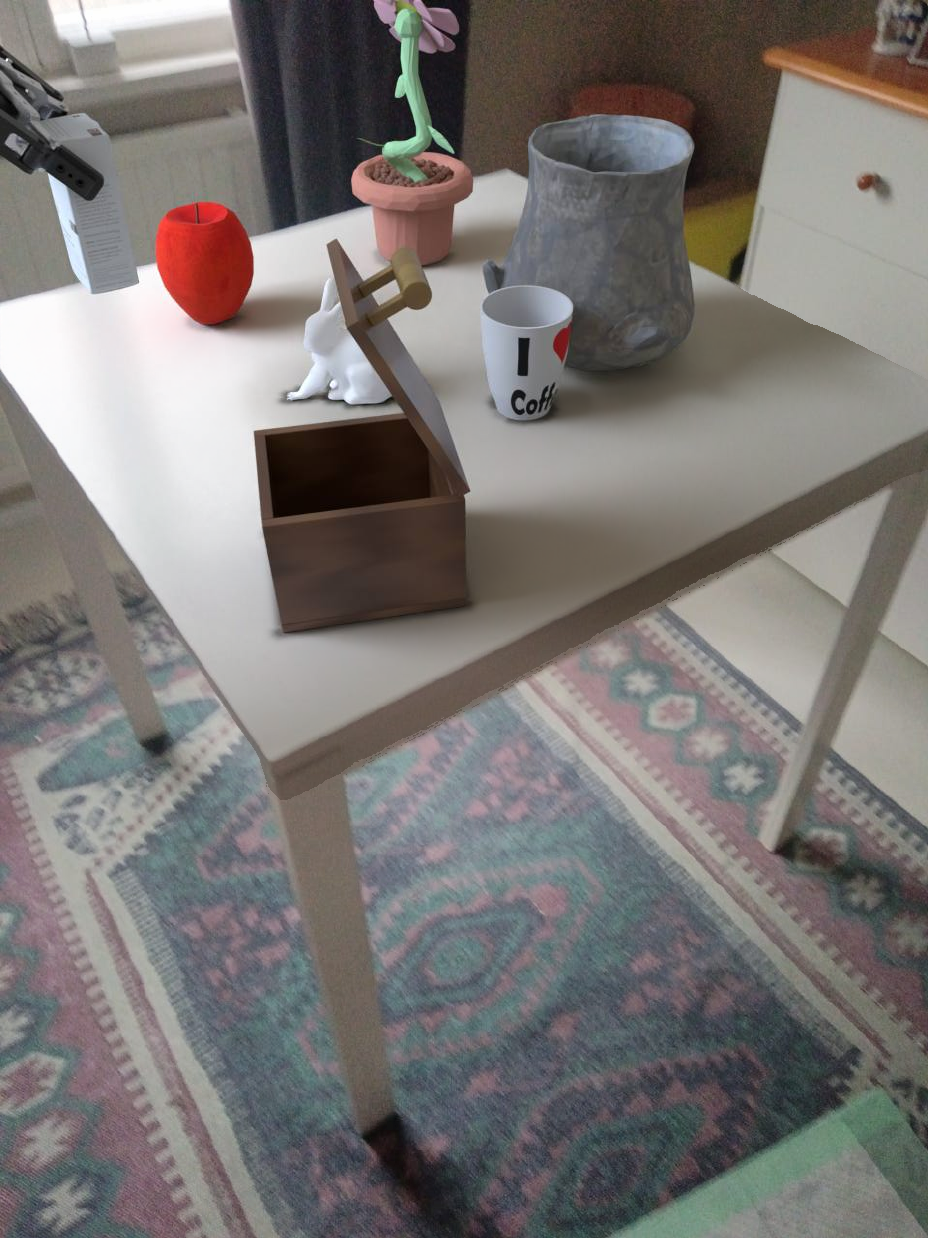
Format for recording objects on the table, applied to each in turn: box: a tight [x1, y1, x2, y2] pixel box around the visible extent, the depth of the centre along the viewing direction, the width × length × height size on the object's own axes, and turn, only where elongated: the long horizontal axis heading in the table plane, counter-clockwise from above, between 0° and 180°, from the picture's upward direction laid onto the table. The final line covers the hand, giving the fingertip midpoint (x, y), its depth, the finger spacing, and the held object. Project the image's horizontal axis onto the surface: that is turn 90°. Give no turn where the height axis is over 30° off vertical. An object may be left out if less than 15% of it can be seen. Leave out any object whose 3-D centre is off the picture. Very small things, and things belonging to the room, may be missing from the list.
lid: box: [326, 238, 471, 497], centre depth 64 cm, size 14×12×5 cm
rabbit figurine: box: [286, 276, 397, 405], centre depth 92 cm, size 12×8×10 cm, turn 79°
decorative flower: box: [350, 0, 474, 266], centre depth 106 cm, size 15×14×30 cm
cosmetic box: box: [40, 112, 140, 295], centre depth 79 cm, size 6×4×12 cm
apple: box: [155, 201, 255, 325], centre depth 101 cm, size 10×10×12 cm
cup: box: [479, 285, 573, 421], centre depth 89 cm, size 8×8×10 cm
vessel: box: [482, 113, 696, 371], centre depth 93 cm, size 22×22×20 cm
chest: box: [253, 412, 468, 633], centre depth 72 cm, size 14×12×10 cm
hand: (101, 173), depth 78 cm, fingers closed on cosmetic box, 7 cm apart
